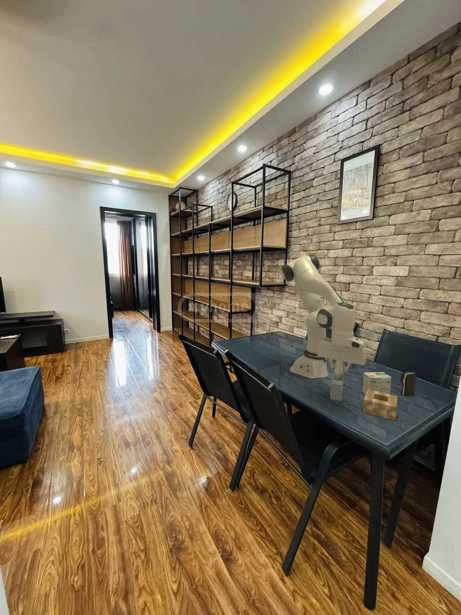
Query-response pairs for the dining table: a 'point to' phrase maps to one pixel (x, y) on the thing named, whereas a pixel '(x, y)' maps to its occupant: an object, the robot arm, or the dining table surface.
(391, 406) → the socket block
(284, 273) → the robot arm
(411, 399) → the dining table surface
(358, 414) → the dining table surface
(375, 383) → the light bulb box
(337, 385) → the square bit
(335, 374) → the steel peg
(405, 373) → the battery charger
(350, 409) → the dining table surface
